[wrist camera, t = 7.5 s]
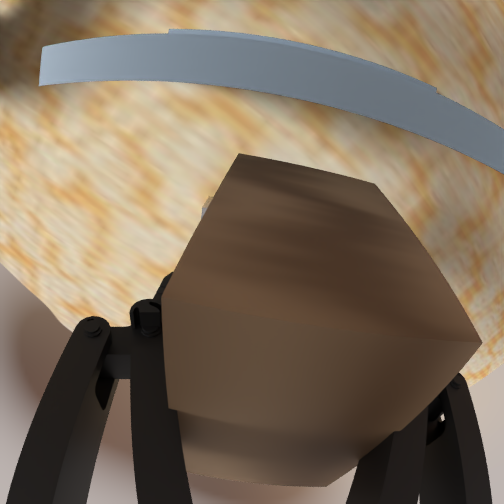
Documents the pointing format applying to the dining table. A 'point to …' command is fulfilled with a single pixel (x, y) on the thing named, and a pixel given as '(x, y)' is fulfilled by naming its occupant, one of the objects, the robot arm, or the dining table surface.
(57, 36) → the dining table surface
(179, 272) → the wooden box
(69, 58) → the wall board
